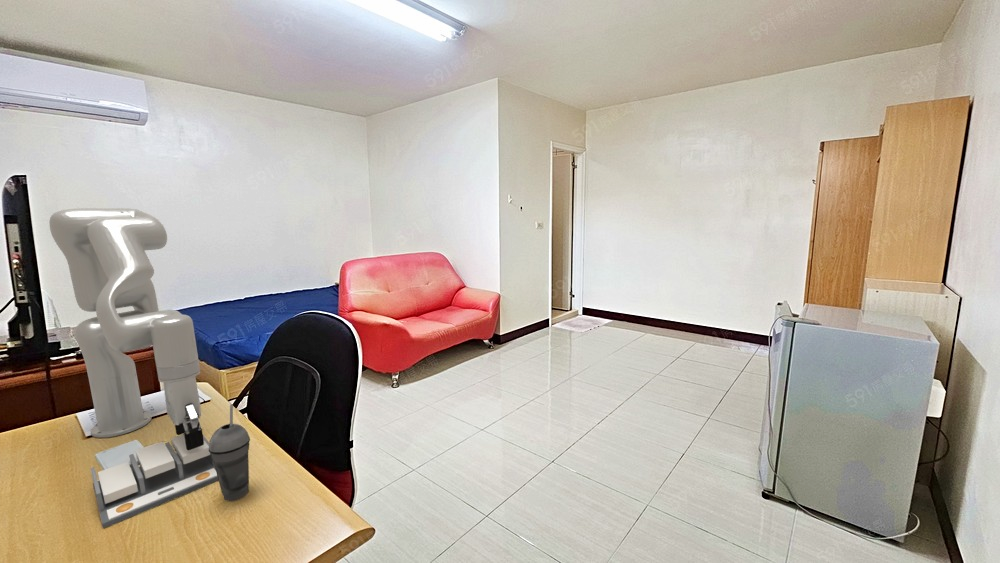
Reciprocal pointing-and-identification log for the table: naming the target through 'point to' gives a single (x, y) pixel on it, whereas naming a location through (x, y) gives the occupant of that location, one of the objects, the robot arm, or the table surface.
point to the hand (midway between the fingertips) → (190, 439)
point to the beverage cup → (231, 459)
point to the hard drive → (118, 454)
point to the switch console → (156, 487)
